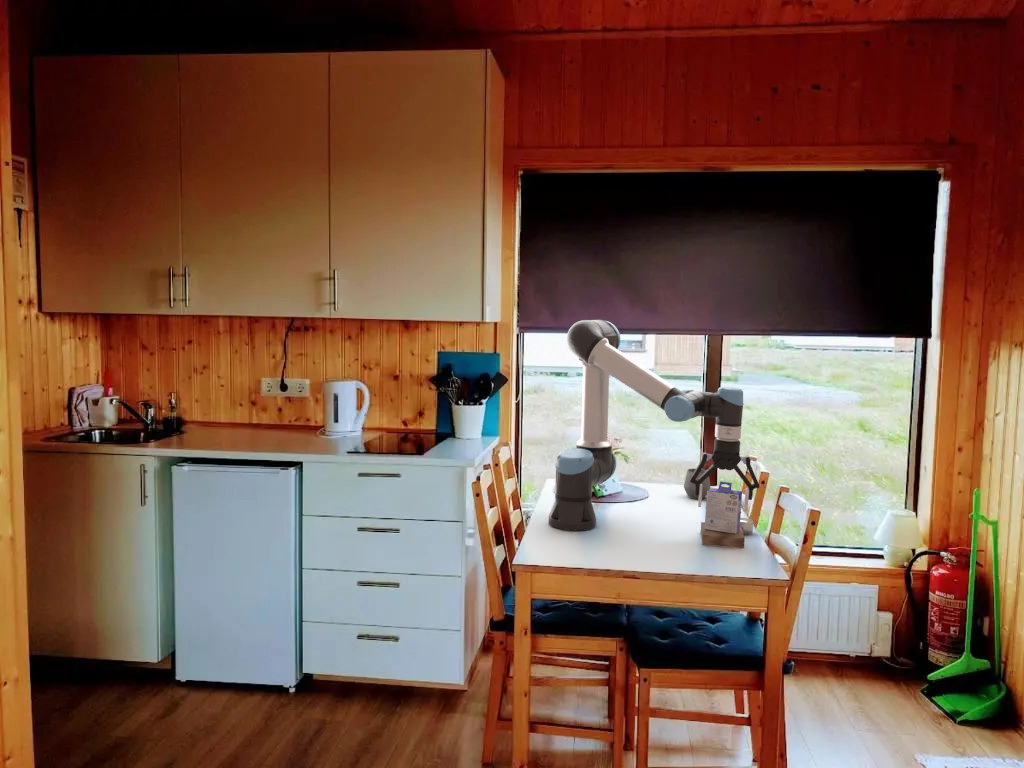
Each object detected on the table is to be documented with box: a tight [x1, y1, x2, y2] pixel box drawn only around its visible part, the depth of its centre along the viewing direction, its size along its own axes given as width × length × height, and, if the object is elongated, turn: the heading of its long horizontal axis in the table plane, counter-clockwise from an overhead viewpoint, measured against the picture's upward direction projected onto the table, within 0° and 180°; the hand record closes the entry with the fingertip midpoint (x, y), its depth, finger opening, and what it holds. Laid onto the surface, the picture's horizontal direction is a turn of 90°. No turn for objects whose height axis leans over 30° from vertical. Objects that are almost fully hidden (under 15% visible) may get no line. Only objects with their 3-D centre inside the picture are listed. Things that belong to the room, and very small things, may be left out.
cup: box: [683, 468, 711, 500], centre depth 295 cm, size 10×9×10 cm
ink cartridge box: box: [704, 481, 743, 534], centre depth 242 cm, size 10×6×14 cm, turn 65°
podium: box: [700, 521, 746, 549], centre depth 243 cm, size 12×14×3 cm
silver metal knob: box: [740, 517, 754, 536], centre depth 252 cm, size 6×6×4 cm
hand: (722, 508), depth 243 cm, fingers open, 13 cm apart
